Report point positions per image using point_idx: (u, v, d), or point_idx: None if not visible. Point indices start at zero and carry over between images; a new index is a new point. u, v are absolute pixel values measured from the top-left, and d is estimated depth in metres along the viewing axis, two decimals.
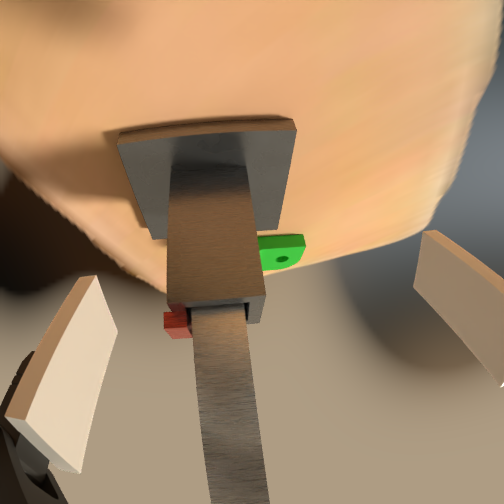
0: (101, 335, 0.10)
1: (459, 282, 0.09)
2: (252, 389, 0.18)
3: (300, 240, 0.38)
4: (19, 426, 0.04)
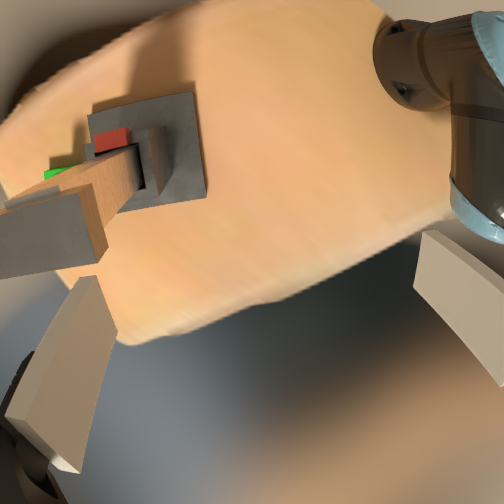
0: (101, 335, 0.10)
1: (459, 282, 0.09)
2: (125, 201, 0.21)
3: None
4: (19, 426, 0.04)
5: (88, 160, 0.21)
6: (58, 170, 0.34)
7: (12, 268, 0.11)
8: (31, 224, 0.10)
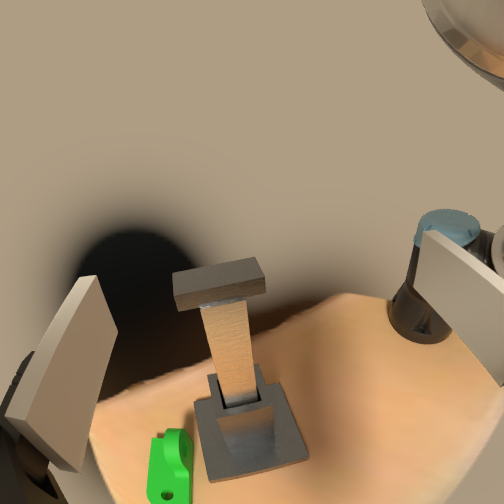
0: (101, 335, 0.10)
1: (459, 282, 0.09)
2: (253, 368, 0.29)
3: None
4: (19, 426, 0.04)
5: None
6: None
7: (202, 286, 0.23)
8: (225, 268, 0.25)
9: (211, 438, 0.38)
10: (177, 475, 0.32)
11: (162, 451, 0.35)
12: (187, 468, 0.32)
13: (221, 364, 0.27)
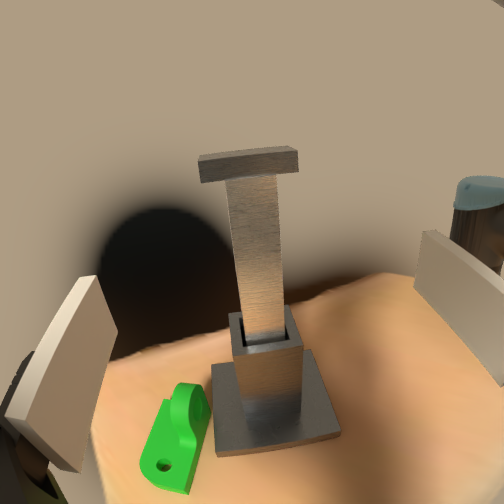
0: (101, 335, 0.10)
1: (459, 282, 0.09)
2: (282, 285, 0.25)
3: (187, 488, 0.24)
4: (19, 426, 0.04)
5: None
6: None
7: (229, 156, 0.21)
8: (255, 149, 0.22)
9: (226, 404, 0.34)
10: (182, 443, 0.28)
11: None
12: (196, 435, 0.28)
13: (244, 270, 0.24)
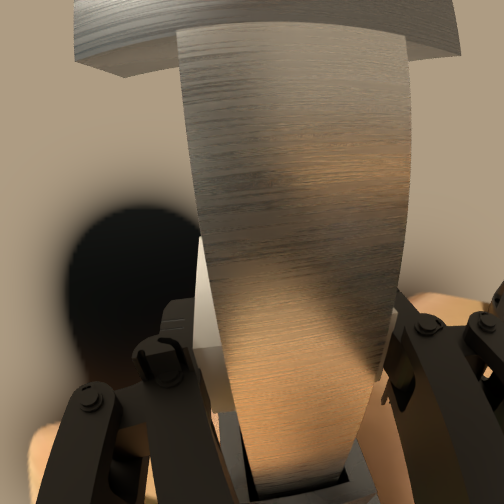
0: None
1: None
2: None
3: None
4: (206, 358, 0.07)
5: None
6: None
7: None
8: None
9: None
10: None
11: None
12: None
13: (261, 394, 0.07)
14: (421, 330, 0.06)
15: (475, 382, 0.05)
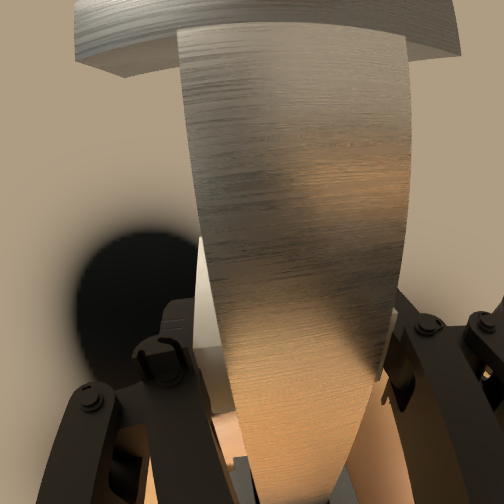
0: None
1: None
2: None
3: None
4: (206, 358, 0.07)
5: None
6: None
7: None
8: None
9: None
10: None
11: None
12: None
13: (261, 394, 0.07)
14: (421, 330, 0.06)
15: (475, 382, 0.05)
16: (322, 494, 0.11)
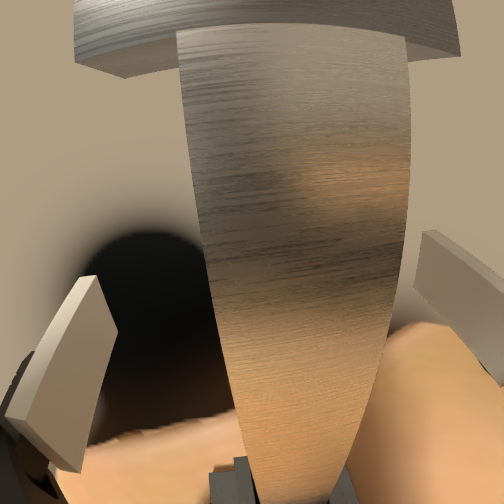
0: (101, 335, 0.10)
1: (459, 282, 0.09)
2: None
3: None
4: (19, 426, 0.04)
5: None
6: None
7: None
8: None
9: None
10: None
11: None
12: None
13: (261, 394, 0.07)
14: None
15: None
16: (322, 494, 0.11)
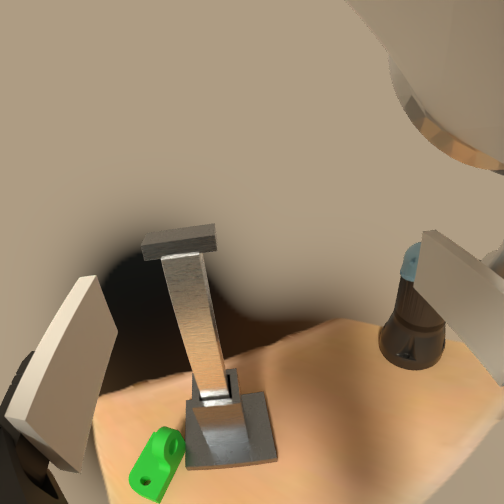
0: (101, 335, 0.10)
1: (459, 282, 0.09)
2: (214, 330, 0.32)
3: (158, 499, 0.32)
4: (19, 426, 0.04)
5: None
6: None
7: (163, 240, 0.28)
8: (187, 230, 0.29)
9: (195, 432, 0.43)
10: (160, 467, 0.36)
11: None
12: (170, 464, 0.36)
13: (183, 320, 0.31)
14: None
15: None
16: (221, 380, 0.36)
